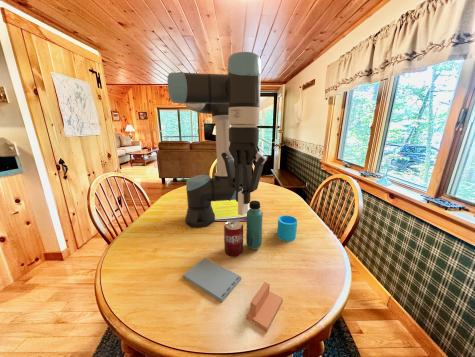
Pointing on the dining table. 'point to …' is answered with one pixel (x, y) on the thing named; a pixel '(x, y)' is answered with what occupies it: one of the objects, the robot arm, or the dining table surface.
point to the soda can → (233, 238)
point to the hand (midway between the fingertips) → (242, 213)
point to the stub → (264, 307)
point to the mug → (287, 228)
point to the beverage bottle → (254, 225)
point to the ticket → (213, 279)
